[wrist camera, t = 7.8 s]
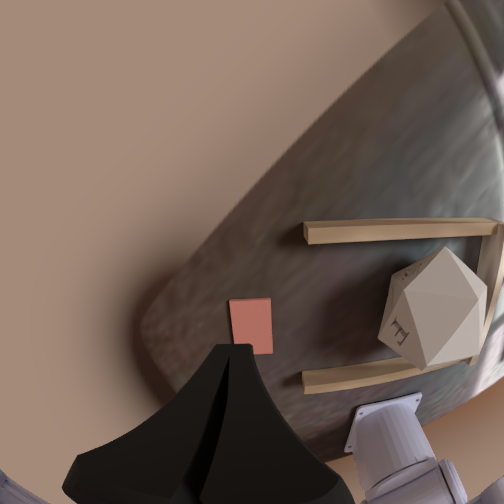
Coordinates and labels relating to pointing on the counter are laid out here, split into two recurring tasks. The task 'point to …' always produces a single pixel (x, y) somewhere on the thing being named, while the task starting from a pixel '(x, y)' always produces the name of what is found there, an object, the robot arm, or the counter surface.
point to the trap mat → (252, 323)
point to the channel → (491, 253)
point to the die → (434, 311)
